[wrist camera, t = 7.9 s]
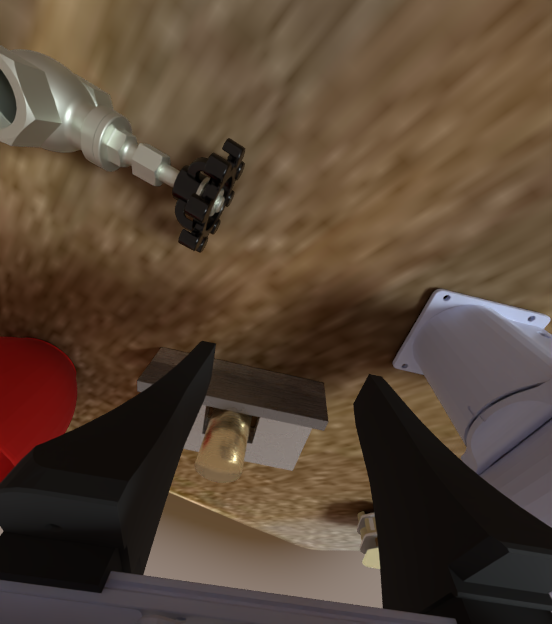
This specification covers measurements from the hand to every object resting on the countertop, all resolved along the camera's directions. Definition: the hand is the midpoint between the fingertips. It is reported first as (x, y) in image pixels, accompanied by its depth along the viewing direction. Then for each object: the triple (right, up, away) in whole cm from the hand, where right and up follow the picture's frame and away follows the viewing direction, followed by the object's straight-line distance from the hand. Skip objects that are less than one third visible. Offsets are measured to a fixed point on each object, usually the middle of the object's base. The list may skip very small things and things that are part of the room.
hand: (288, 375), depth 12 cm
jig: (-5, -7, +17) cm, 19 cm away
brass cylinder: (-5, -7, +16) cm, 18 cm away
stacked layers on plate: (+14, -25, +26) cm, 38 cm away
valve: (-9, +14, +5) cm, 17 cm away
